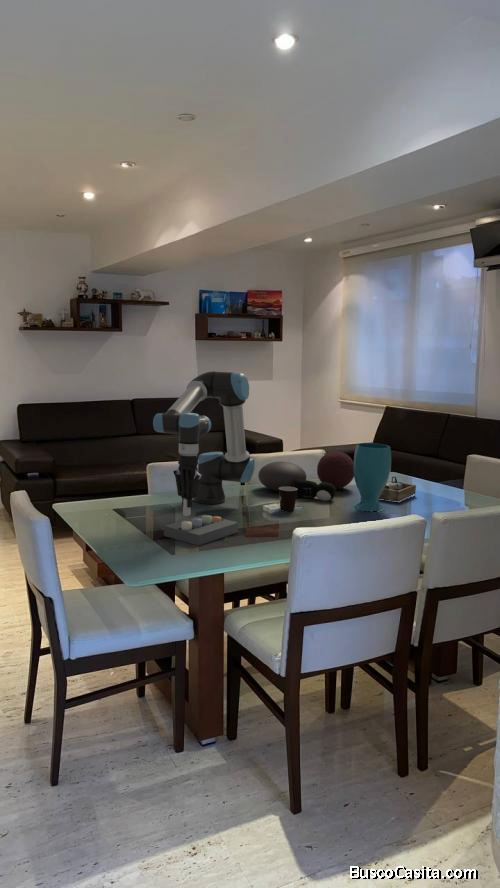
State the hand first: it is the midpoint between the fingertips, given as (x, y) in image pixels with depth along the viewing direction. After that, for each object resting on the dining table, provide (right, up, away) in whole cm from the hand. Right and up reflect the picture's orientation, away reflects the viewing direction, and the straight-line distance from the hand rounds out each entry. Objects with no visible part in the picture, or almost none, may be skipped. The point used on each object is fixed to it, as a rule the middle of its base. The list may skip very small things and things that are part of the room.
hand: (186, 515), depth 257 cm
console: (+5, -8, +9) cm, 13 cm away
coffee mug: (+42, -3, +53) cm, 67 cm away
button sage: (+7, -5, +11) cm, 14 cm away
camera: (+97, 0, +87) cm, 130 cm away
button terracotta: (+10, -6, +16) cm, 20 cm away
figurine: (+56, 0, +76) cm, 94 cm away
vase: (+80, -3, +60) cm, 101 cm away
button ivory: (0, -7, +1) cm, 7 cm away
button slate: (+3, -6, +6) cm, 9 cm away
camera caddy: (+97, 0, +85) cm, 129 cm away
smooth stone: (+41, +3, +92) cm, 100 cm away
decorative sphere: (+69, +3, +100) cm, 122 cm away
